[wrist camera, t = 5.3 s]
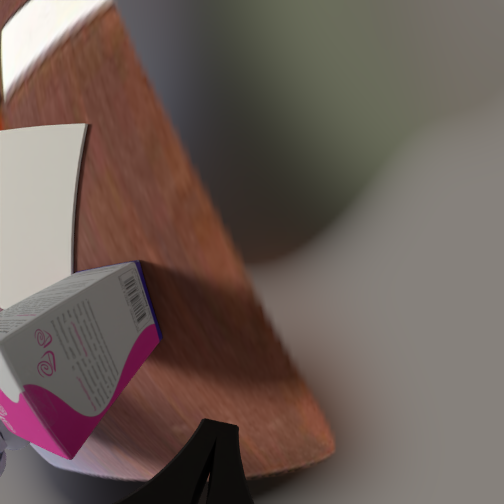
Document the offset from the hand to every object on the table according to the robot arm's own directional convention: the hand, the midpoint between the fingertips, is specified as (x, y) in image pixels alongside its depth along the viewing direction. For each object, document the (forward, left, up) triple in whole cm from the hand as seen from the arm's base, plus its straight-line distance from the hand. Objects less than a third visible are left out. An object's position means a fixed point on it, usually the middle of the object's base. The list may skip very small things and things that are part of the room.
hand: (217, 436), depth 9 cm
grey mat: (+4, +22, -8) cm, 24 cm away
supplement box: (0, +9, -9) cm, 12 cm away
